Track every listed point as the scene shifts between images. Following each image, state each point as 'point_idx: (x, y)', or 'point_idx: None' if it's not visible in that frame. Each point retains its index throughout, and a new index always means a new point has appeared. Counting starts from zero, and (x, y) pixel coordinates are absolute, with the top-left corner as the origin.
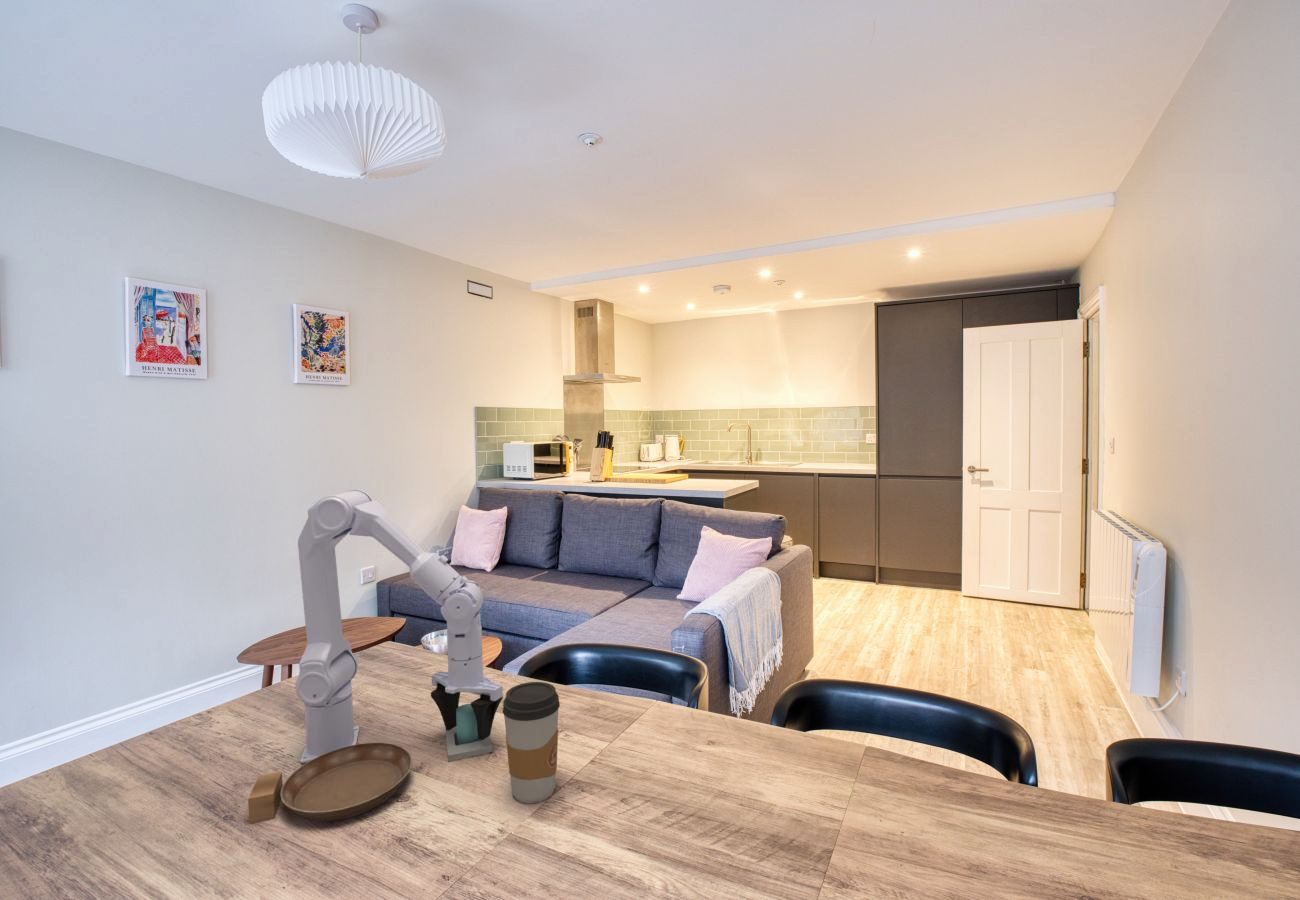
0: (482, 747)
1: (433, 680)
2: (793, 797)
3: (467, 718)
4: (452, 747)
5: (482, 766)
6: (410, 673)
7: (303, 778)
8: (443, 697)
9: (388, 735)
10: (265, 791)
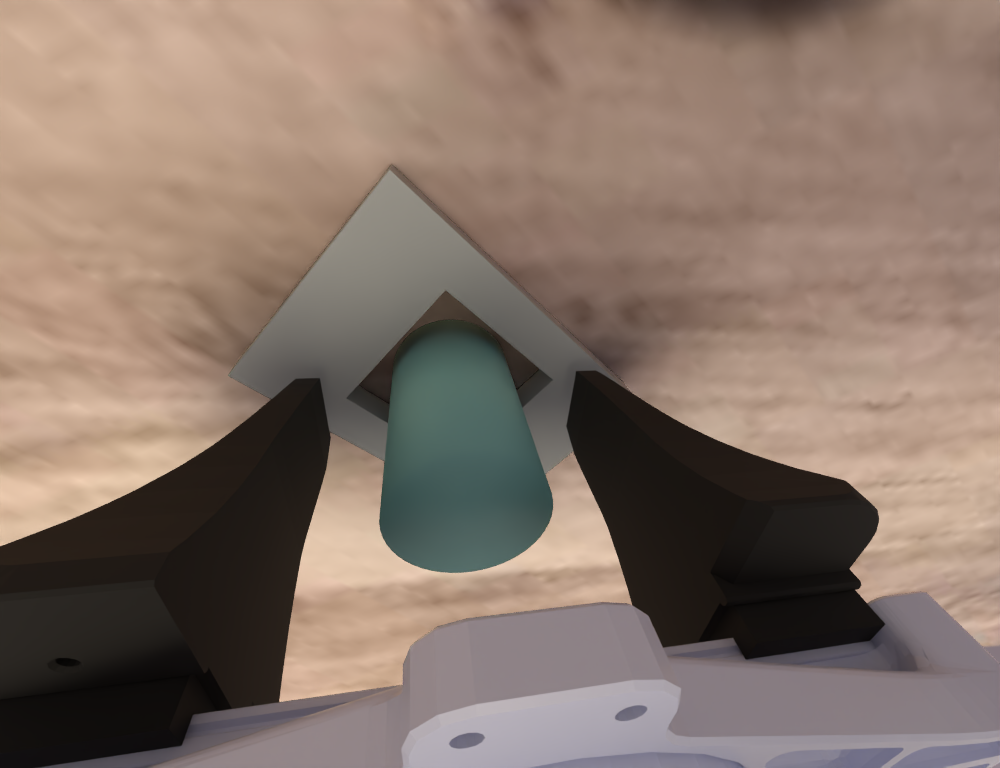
0: (273, 345)
1: (964, 654)
2: None
3: (403, 446)
4: (446, 266)
5: (137, 218)
6: (970, 578)
7: None
8: (706, 521)
9: (907, 244)
10: None
